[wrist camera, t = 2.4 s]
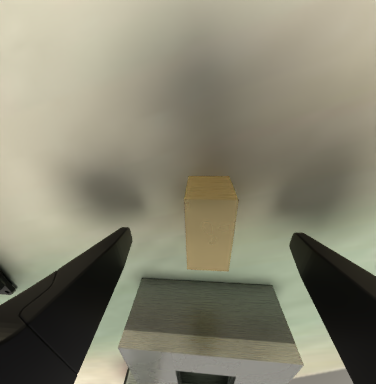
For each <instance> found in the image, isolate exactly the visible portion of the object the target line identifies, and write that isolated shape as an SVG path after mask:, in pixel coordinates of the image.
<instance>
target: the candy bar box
mask: <svg viewBox="0 0 376 384" xmlns="http://www.w3.org/2000/svg"><path fill="white" fill-rule="evenodd" d="M124 384H137V382H136V380H135V378H134V377H133V375H132V373H131V371H130V369H129V367H128V370H127V374H126V377H125V381H124Z"/></svg>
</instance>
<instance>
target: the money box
mask: <svg viewBox="0 0 376 384" xmlns="http://www.w3.org/2000/svg"><path fill="white" fill-rule="evenodd" d="M118 349H119V351H120V353H121V355H122V356H123V358H124V360H125V362H126V364H127V366H128V367H129V369H130V371H131V373H132V375H133V377H134V378H135V380H136V382H137V384H289V382H290V381H291V380H292V379H293V378H294V376H295V375H296V374H297V373H298V372H299V370H300V369H301V368H302V367H303V365H304V364H303V362H302V359H301V357H300V354H299V352H298V349H297V347H296V344H295V342H294V339H293V336H292V334H291V331H290V329H289V326H288V324H287V321H286V319H285V316H284V314H283V311H282V309H281V306H280V304H279V301H278V299H277V296H276V294H275V291H274V289H273V286H271V285H253V284H235V283H217V282H199V281H180V280H162V279H144V278H142V280H141V283H140V286H139V288H138V291H137V294H136V297H135V300H134V303H133V306H132V308H131V311H130V314H129V317H128V320H127V323H126V326H125V329H124V331H123V334H122V337H121V340H120V343H119V346H118Z"/></svg>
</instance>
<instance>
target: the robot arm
mask: <svg viewBox="0 0 376 384" xmlns="http://www.w3.org/2000/svg"><path fill="white" fill-rule="evenodd" d="M131 243H132V236H131V232H130V229H129V228H128V227H122V228H120V229H118V230H117V231H115V232H114V233H112V234H111V235H109V236H108V237H106V238H105V239H103V240H102V241H100V242H99V243H97V244H96V245H94V246H93V247H91V248H90V249H88V250H87V251H85V252H84V253H82V254H81V255H79V256H78V257H76V258H75V259H73V260H71V261H70V262H68V263H67V264H65V265H64V266H62V267H61V268H59V269H58V270H57V271H55V272H53V273H52V274H50V275H49V276H47V277H46V278H44V279H43V280H41V281H39V282H38V283H36V284H35V285H33V286H32V287H30V288H28V289H27V290H25V291H23V292H22V293H20V294H18V295H17V296H15V297H13V298H12V299H10V300H8V301H7V302H5V303H3V304H1V305H0V384H74V382H75V380H76V377H77V374H78V372H79V370H80V368H81V365H82V363H83V361H84V359H85V356H86V354H87V352H88V349H89V347H90V345H91V342H92V340H93V338H94V335H95V333H96V331H97V329H98V326H99V324H100V322H101V319H102V317H103V315H104V312H105V310H106V308H107V305H108V303H109V301H110V299H111V296H112V294H113V292H114V289H115V287H116V285H117V282H118V280H119V278H120V275H121V273H122V271H123V268H124V266H125V263H126V259H127V256H128V253H129V250H130V247H131ZM290 250H291V252H292V255H293V258H294V260H295V263H296V266H297V269H298V271H299V274H300V276H301V278H302V280H303V282H304V285H305V287H306V289H307V291H308V293H309V295H310V297H311V299H312V301H313V303H314V305H315V307H316V309H317V311H318V313H319V315H320V317H321V319H322V321H323V323H324V325H325V327H326V329H327V331H328V333H329V335H330V337H331V339H332V341H333V343H334V345H335V347H336V349H337V351H338V353H339V355H340V357H341V359H342V361H343V363H344V365H345V367H346V369H347V371H348V373H349V375H350V377H351V379H352V381H353V383H354V384H376V276H374V275H373V274H371V273H369V272H368V271H366V270H364V269H363V268H361V267H359V266H358V265H356V264H354V263H353V262H351V261H349V260H348V259H346V258H344V257H343V256H341V255H339V254H338V253H336V252H334V251H333V250H331V249H329V248H328V247H326V246H324V245H323V244H321V243H319V242H318V241H316V240H314V239H313V238H311V237H309V236H308V235H306V234H304V233H294V234H293V236H292V239H291V241H290ZM15 291H16V289H15V288H14V287H13V286H12V284H11V283H10V282H9V281H8V280H7V279H6V278H5V277H4V275H3V274H2V273H1V272H0V294H6V295H11V294H13V293H14V292H15Z"/></svg>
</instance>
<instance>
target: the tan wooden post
mask: <svg viewBox="0 0 376 384" xmlns="http://www.w3.org/2000/svg"><path fill="white" fill-rule="evenodd" d="M238 201H239V200H238V197H237V195H236V192H235V190H234V187H233V185H232V182H231V180H230V177H229V176H189V177H188V182H187V187H186V193H185V198H184V205H185V228H186V251H187V269H191V270H211V271H229V264H230V257H231V250H232V243H233V236H234V229H235V222H236V215H237V208H238Z"/></svg>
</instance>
